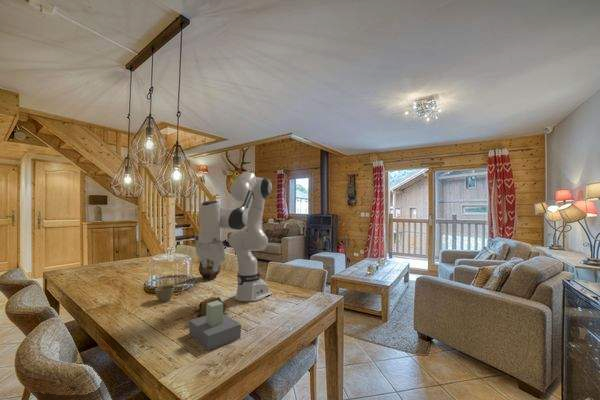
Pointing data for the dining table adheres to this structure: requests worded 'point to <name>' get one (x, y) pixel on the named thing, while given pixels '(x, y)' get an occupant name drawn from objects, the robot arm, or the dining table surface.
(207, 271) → the ceramic jug
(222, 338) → the slate block
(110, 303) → the dining table surface
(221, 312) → the sage block
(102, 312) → the dining table surface
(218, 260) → the robot arm
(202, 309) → the wooden carving
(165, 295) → the flower pot
